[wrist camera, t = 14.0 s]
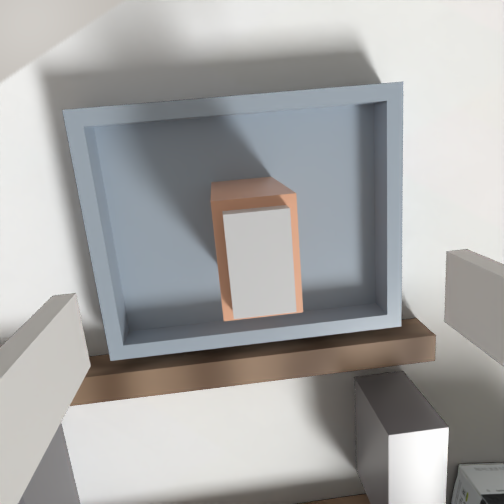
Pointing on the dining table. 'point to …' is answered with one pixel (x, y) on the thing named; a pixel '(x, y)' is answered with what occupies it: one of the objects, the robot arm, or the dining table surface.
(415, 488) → the outer charcoal block
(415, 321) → the rails
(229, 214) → the white orange rectangular block
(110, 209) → the tray
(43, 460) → the inner charcoal block
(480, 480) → the tea box
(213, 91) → the dining table surface
